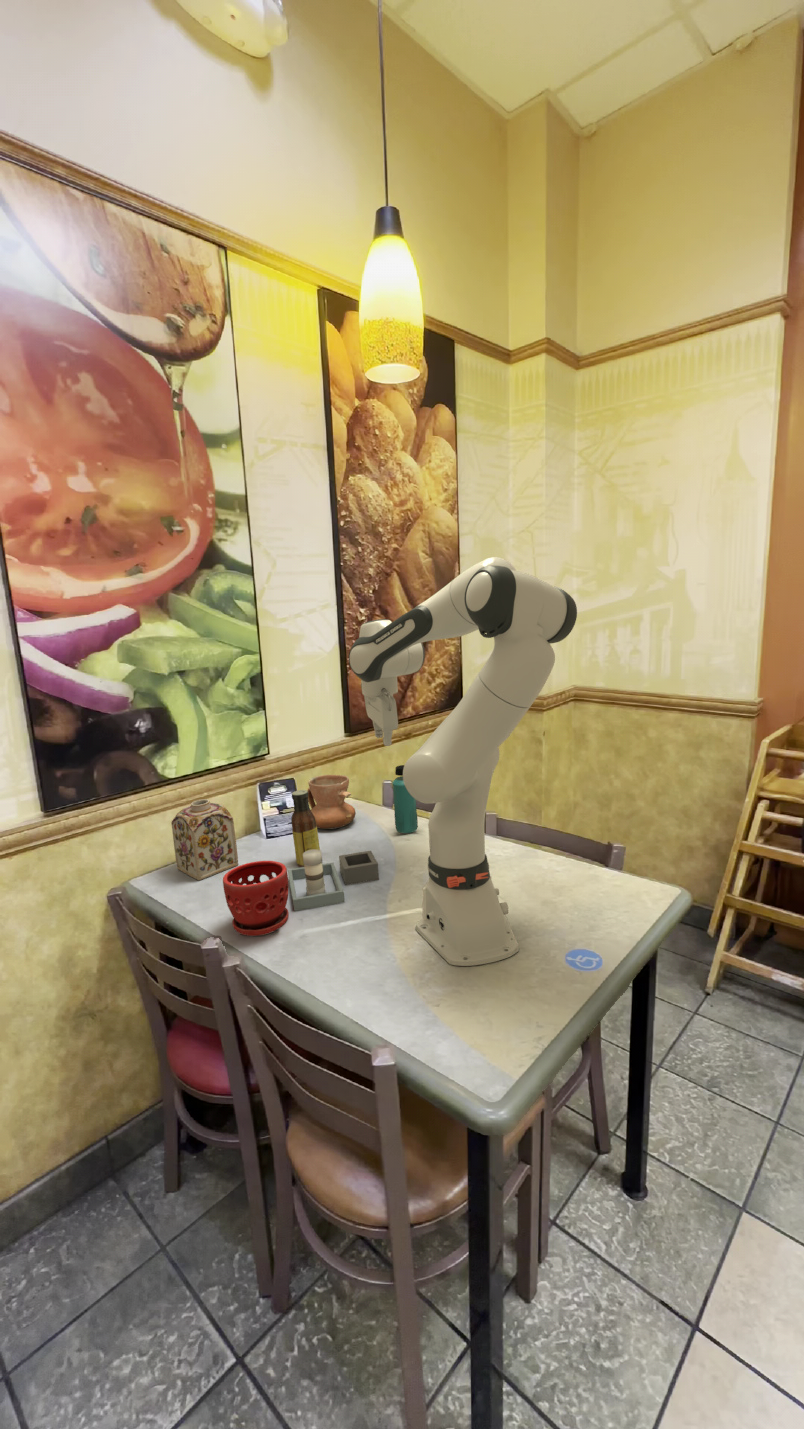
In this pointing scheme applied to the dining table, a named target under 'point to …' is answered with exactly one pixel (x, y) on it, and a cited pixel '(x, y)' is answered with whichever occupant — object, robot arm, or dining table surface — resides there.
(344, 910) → the dining table surface
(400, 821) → the beverage bottle
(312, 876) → the cylinder
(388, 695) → the robot arm
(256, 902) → the plant pot
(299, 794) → the sauce bottle
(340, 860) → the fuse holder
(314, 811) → the ceramic jug
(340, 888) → the parts tray
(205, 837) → the decorative jar
